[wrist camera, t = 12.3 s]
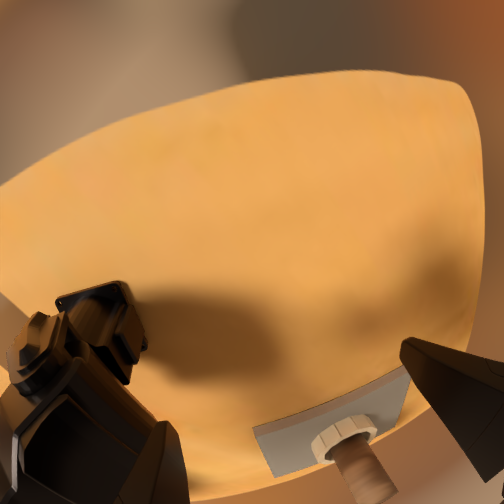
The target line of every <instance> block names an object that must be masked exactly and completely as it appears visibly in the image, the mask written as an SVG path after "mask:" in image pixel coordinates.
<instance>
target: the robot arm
mask: <svg viewBox="0 0 504 504" xmlns="http://www.w3.org/2000/svg"><path fill="white" fill-rule="evenodd" d="M113 286H116V287H117V290H115V289H113ZM59 301H60V302H61V303H62V304H60V302H59ZM55 305H56V307H57V309H58V311H59V314H57V315H55V316H52V317H50V315H45V314H43V313H41V312H39V311H38V312H36V313H35V314H33V315H32V316H31V318H30V319H29V320H28V321H27V323H26V324H25V325H24V327H23V329H22V330H21V333H20V334H19V335H18V336H17V337H16V338H15V339H14V343H13V344H12V346H11V347H10V348H9V349H8V350H7V352H6V354H7V363H8V371H9V377H10V381H11V384H10V385H9V386H8V388H7V389H6V390H5V392H4V393H3V394H2V396H1V397H0V504H190V498H189V490H188V481H187V473H186V467H185V463H184V459H183V454H182V449H181V444H180V439H179V435H178V433H177V431H176V430H175V429H174V427H173V426H172V425H171V423H170V422H169V421H159V422H158V421H157V420H156V418H155V417H154V416H153V415H152V414H151V413H150V412H149V411H148V410H147V409H146V408H145V407H144V406H143V405H142V404H141V403H140V402H139V401H138V400H137V399H136V398H135V397H134V396H133V395H132V394H131V393H130V392H129V391H128V390H127V389H126V388H125V387H124V385H128V384H129V383H130V379H131V373H132V368H133V365H136V364H137V363H138V361H139V357H140V352H141V351H145V350H147V347H148V342H147V340H146V338H145V336H144V329H143V326H142V324H141V322H140V320H139V318H138V316H137V314H136V311H135V309H134V307H133V306H132V305H131V304H129V302H128V300H127V298H126V295H125V293H124V291H123V288H122V286H121V284H120V283H119V282H118V281H111V282H108V283H104V284H101V285H97V286H94V287H90V288H87V289H83V290H80V291H77V292H73V293H70V294H66V295H63V296H59V297H58V298H57V299H56V301H55ZM142 344H143V345H144V346H142ZM400 360H401V362H402V364H403V365H404V367H405V368H406V370H407V372H408V373H409V375H410V377H411V378H412V380H413V382H414V383H415V385H416V387H417V388H418V389H419V391H420V392H421V393H422V395H423V396H424V397H425V399H426V400H427V401H428V403H429V404H430V405H431V407H432V408H433V409H434V411H435V412H436V413H437V415H438V416H439V417H440V419H441V420H442V421H443V423H444V424H445V426H446V427H447V428H448V430H449V431H450V433H451V434H452V435H453V437H454V438H455V440H456V441H457V442H458V444H459V445H460V447H461V448H462V450H463V451H464V453H465V454H466V456H467V457H468V459H469V460H470V461H471V463H472V465H473V466H474V468H475V469H476V470H477V472H478V474H479V475H480V477H481V478H482V479H483V481H484V482H485V483H486V482H488V481H489V480H490V479H491V478H493V477H494V476H495V475H496V474H498V473H499V472H500V471H501V470H503V469H504V363H503V362H498V361H494V360H490V359H487V358H483V357H479V356H476V355H472V354H469V353H465V352H462V351H458V350H455V349H451V348H448V347H445V346H441V345H438V344H434V343H431V342H428V341H425V340H421V339H418V338H415V337H408V338H407V339H405V340H403V341H402V344H401V349H400ZM502 496H503V498H504V484H503V490H502ZM500 504H504V500H503V501H502V502H501V503H500Z"/></svg>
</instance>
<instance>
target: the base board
mask: <svg viewBox="0 0 504 504" xmlns="http://www.w3.org/2000/svg"><path fill="white" fill-rule="evenodd" d="M410 380H411V377H410V375H409V373H408V372H407V370H406V368H405V367H404V365H402V366H401V367H399V368H397V369H395V370H393V371H392V372H390V373H388V374H386V375H384V376H382V377H380V378H379V379H377V380H375V381H373V382H371V383H369V384H367V385H365V386H363V387H360V388H358V389H356V390H354V391H352V392H350V393H348V394H345V395H343V396H341V397H339V398H336V399H334V400H331V401H329V402H327V403H324V404H322V405H319V406H317V407H314V408H311V409H309V410H306V411H303V412H301V413H298V414H295V415H292V416H289V417H286V418H283V419H280V420H277V421H274V422H270V423H267V424H264V425H260V426H257V427H253V431H254V435H255V438H256V440H257V442H258V444H259V446H260V449H261V451H262V453H263V455H264V457H265V459H266V461H267V463H268V465H269V467H270V470H271V472H272V474H273V476H274V478H276V477H280V476H283V475H286V474H290V473H293V472H296V471H299V470H302V469H305V468H307V467H310V466H313V465H316V464H318V463H321V464H331V463H335V461H334V459H333V457H332V455H331V453H330V451H329V450H330V448H331V447H333V446H334V445H336V444H337V443H339V442H340V441H342V440H343V439H345V438H348V437H350V436H352V435H354V434H356V433H361V434H362V435H363V437H364V438H365V440H366V442H367V443H368V444H369V443H370V442H371V441H372V440H373V439H374V438H375V437H377V436H379V435H381V434H383V433H385V432H386V431H388V430H390V429H392V428H393V427H395V425H396V422H397V420H398V417H399V414H400V411H401V409H402V406H403V403H404V400H405V396H406V393H407V390H408V387H409V383H410Z"/></svg>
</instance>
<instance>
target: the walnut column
mask: <svg viewBox="0 0 504 504" xmlns="http://www.w3.org/2000/svg"><path fill="white" fill-rule="evenodd" d="M329 451H330V453H331V455H332V457H333V459H334V461H335V463H336V465H337V466H338V468H339V470H340V472H341V474H342V476H343V478H344V480H345V481H346V483H347V485H348V487H349V489H350V491H351V493H352V494H353V496H354V498H355V500H356V502H357V504H381V503H383V502H385V501H386V500H388V499H390V498H391V497H393V496H394V495H395V494H397V493H398V490H397V488H396V486H395V485H394V483H393V482H392V481H391V479H390V477H389V476H388V474H387V473H386V471H385V469H384V468H383V466H382V465H381V463H380V462H379V460H378V459H377V457H376V456H375V454H374V452H373V451H372V449H371V448H370V446H369V445H368V443H367V442H366V440H365V438H364V437H363V435H362V434H361V433H356V434H354V435H352V436H350V437H348V438H345V439H343V440H342V441H340V442H339V443H337V444H336V445H334V446H333V447H331V448H330V450H329Z"/></svg>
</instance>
